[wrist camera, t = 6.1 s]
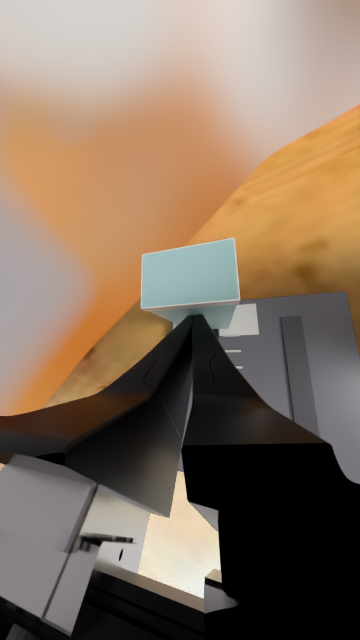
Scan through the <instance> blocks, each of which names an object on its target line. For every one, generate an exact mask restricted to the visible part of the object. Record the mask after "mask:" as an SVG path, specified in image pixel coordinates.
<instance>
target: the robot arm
mask: <svg viewBox="0 0 360 640" xmlns="http://www.w3.org/2000/svg"><path fill="white" fill-rule="evenodd" d="M152 350H153V351H152ZM152 350H151V351H150V352H149V353H148V354H147V355H146V356H144V357H143V358H142V359H141V360H140V361H139V362H138V363H136V364H135V365H134V366H133V367H132V368H130V369H129V370H128V371H127V372H125V373H124V374H123V375H122V376H120V377H119V378H118V379H117V380H115V381H114V382H113V383H112V384H110V385H109V386H108V387H106V388H105V389H104V390H102V391H100V392H99V393H97V394H94V395H92V396H89V397H85V398H82V399H78V400H74V401H70V402H67V403H63V404H59V405H55V406H52V407H48V408H44V409H40V410H37V411H33V412H29V413H25V414H19V415H14V416H0V463H2V464H5V466H4V467H3V468H2V469H1V471H0V640H360V484H358V483H355V482H353V481H351V480H349V479H348V478H347V477H346V476H345V475H344V473H343V471H342V470H341V468H340V466H339V464H338V461H337V459H336V456H335V454H334V451H333V447H332V445H331V444H330V443H328V442H326V441H325V440H323V439H322V438H320V437H318V436H317V435H315V434H313V433H312V432H310V431H308V430H307V429H305V428H304V427H302V426H300V425H299V424H297V423H295V422H294V421H292V420H290V419H289V418H287V417H285V416H284V415H282V414H281V413H279V412H277V411H276V410H274V409H273V408H272V407H270V406H269V405H268V404H267V403H266V402H265V401H264V400H263V399H262V398H261V397H260V396H259V395H258V393H257V392H256V391H255V390H254V389H253V387H252V386H251V385H250V384H249V383H248V381H247V380H246V379H245V378H244V377H243V375H242V374H241V373H240V372H239V370H238V369H237V368H236V367H235V365H234V364H233V363H232V361H231V360H230V358H229V357H228V355H227V354H226V352H225V350H224V349H223V347H222V345H221V344H220V342H219V340H218V339H217V337H216V335H215V334H214V332H213V330H212V329H211V327H210V325H209V324H208V322H207V320H206V319H205V317H204V315H203V314H198V315H196V316H195V315H188V316H187V317H186V318H185V319H184V320H183V321H181V322H180V323H179V324H178V325H177V326H176V327H175V328H174V329H173V330H172V331H171V332H170V333H169V334H168V335H167V336H166V337H165V338H164V339H163V340H161V341H160V342H159V343H158V344H157V345H156V346H155V347H154V348H153V349H152ZM191 386H192V391H193V393H192V407H191V411H190V415H189V419H188V423H187V428H186V432H185V436H184V440H183V434H184V428H185V422H186V416H187V410H188V404H189V398H190V392H191ZM182 440H183V444H182ZM181 446H182V448H181ZM180 452H181V455H182V462H183V469H184V476H185V484H186V492H187V500H188V502H189V503H190V504H191V505H192V506H193V507H194V508H195V509H196V510H197V511H198V512H199V513H200V514H201V515H202V516H203V517H204V518H205V519H206V520H207V521H208V523H209V524H210V525H211V526H212V527H213V528H214V529H215V530H216V531H218V532H219V547H220V563H221V571H220V570H217V569H214V570H212V571H211V572H210V573H209V574H208V575H207V576H206V577H205V586H204V599H203V598H200V597H197V596H195V595H192V594H189V593H187V592H184V591H182V590H179V589H176V588H174V587H171V586H168V585H166V584H163V583H160V582H158V581H155V580H152V579H150V578H147V577H145V576H142V575H139V574H137V573H138V569H139V564H140V559H141V554H142V549H143V544H144V539H145V534H146V530H147V525H148V520H149V515H150V513H152V514H156V515H160V516H164V517H167V518H169V517H170V511H171V506H172V500H173V494H174V488H175V482H176V476H177V470H178V464H179V458H180Z"/></svg>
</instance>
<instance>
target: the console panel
mask: <svg viewBox="0 0 360 640" xmlns="http://www.w3.org/2000/svg"><path fill="white" fill-rule="evenodd" d="M176 326H177V324H174V323H172V322H171V331H172V330H173V329H174V328H175V327H176ZM212 330H213V332H214V334H215V335H216V337H217V339H218V340H219V342H220V344H221V345H222V347H223V349H224V350H225V352H226V354H227V355H228V357H229V358H230V360H231V361H232V363H233V364H234V365H235V367H236V368H237V369H238V370H239V372H240V373H241V374H242V375H243V377H244V378H245V379H246V380H247V381H248V383H249V384H250V385H251V386H252V387H253V389H254V390H255V391H256V392H257V393H258V395H259V396H260V397H261V398H262V399H263V400H264V401H265V402H266V403H267V404H268V405H269V406H270V407H272V408H273V409H274V410H276V411H277V412H279V413H281V414H282V415H284V416H285V417H287V418H289V419H290V420H292V421H294V422H295V423H297V424H299V425H300V426H302V427H304V428H305V429H307V430H308V431H310V432H312V433H313V434H315V435H317V436H318V437H320V438H322V439H323V440H325V441H326V442H328V443H330V444H331V445H332V447H333V451H334V454H335V456H336V459H337V461H338V464H339V466H340V468H341V470H342V471H343V473H344V475H345V476H346V477H347V478H348V479H349V480H351V481H353V482H355V483H358V484H360V356H359V351H358V346H357V341H356V337H355V332H354V327H353V323H352V318H351V313H350V308H349V304H348V299H347V294H346V291H341V292H330V293H318V294H307V295H296V296H284V297H273V298H262V299H250V300H240V302H239V304H237V306H236V308H235V311H234V314H233V317H232V320H231V323H230V326H229V328H227V329H212ZM192 393H193V391H192V386H191V392H190V398H189V404H188V410H187V416H186V422H185V428H184V434H183V440H184V436H185V432H186V428H187V423H188V419H189V415H190V411H191V407H192ZM183 440H182V444H183ZM181 448H182V446H181ZM177 471H181V472H184V469H183V462H182V455H181V452H180V458H179V464H178V470H177Z"/></svg>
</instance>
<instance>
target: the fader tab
mask: <svg viewBox="0 0 360 640" xmlns="http://www.w3.org/2000/svg"><path fill="white" fill-rule="evenodd" d="M141 277H142V278H141V309H142V310H144V311H146V312H152V313H154V314H156V315H158V316H160V317H162V318H164V319H166V320H168V321H170V322H172V323H174V324H177V325H178V324H179V323H180V322H181V321H183V320H184V319H185V318H186V317H187V316H188V315H195V316H196V315H198V314H203V315H204V317H205V319H206V320H207V322H208V324H209V325H210V327H211V329H227V328H229V326H230V323H231V320H232V317H233V314H234V311H235V308H236V306H237V304H239V302H240V291H239V279H238V268H237V257H236V245H235V238H229V239H224V240H218V241H213V242H207V243H202V244H197V245H191V246H186V247H181V248H175V249H169V250H164V251H158V252H153V253H148V254H142V275H141Z"/></svg>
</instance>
